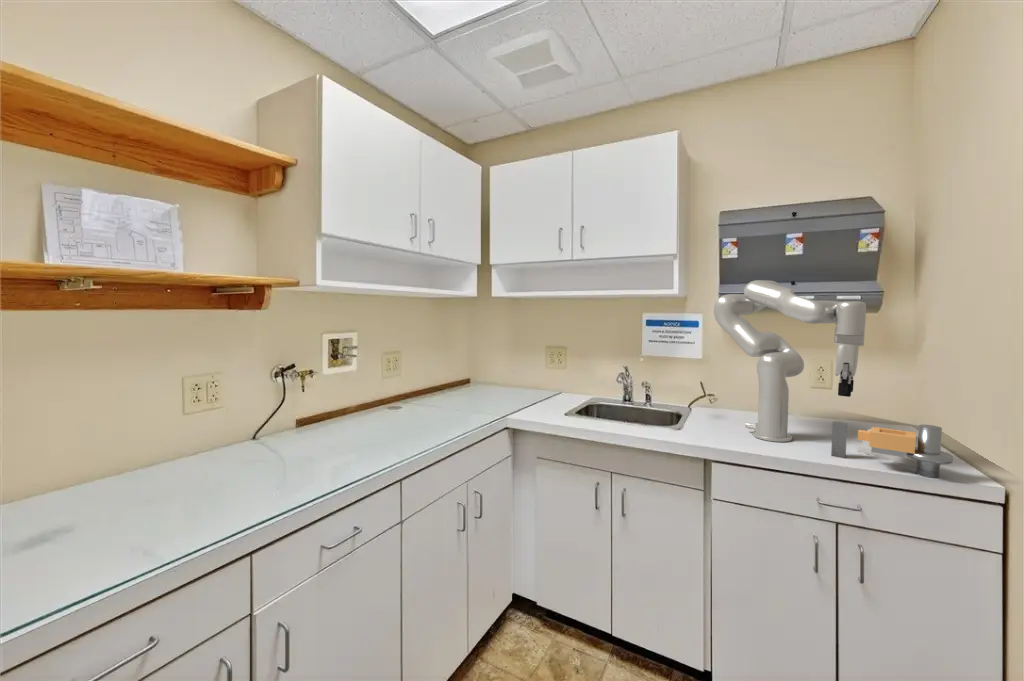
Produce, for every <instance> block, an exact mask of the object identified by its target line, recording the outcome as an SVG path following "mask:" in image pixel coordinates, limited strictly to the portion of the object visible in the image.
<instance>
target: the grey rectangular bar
mask: <svg viewBox="0 0 1024 681" xmlns="http://www.w3.org/2000/svg"><path fill="white" fill-rule="evenodd" d="M831 428H832V430H831V452H830V453H831V455H830V457H835V458H841V459H846V458H847V437H848V422H842V421H835V420H834V421H832V427H831Z"/></svg>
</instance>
